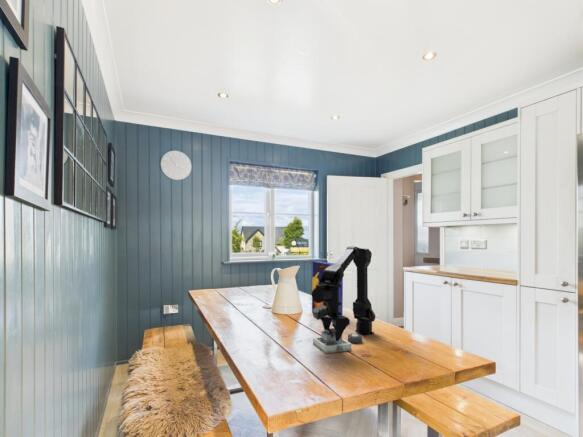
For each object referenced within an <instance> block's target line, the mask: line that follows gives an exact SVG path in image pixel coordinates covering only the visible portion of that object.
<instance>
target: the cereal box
mask: <svg viewBox="0 0 583 437" xmlns="http://www.w3.org/2000/svg"><path fill="white" fill-rule="evenodd" d="M335 263H336V262H328V261H320V260H314V261H312V274H311V275H312V276H311V277H312V278H311V279H312V280H311V282H312V285H311V287H312V288H311V290H312V291H311V293H312V292H313V290H314V289H315V288H316V285H318V283H319V281H320V279H321V277H322V274H323V272H324V270H325V269H326V268H327V267H329V266H331V265H333V264H335ZM343 278H344V277H343ZM343 278H342V280H341V282H340V284H341V285H342V287H341V288H339V302H341V305H339V312H341V315H338V316H343V307H344V306H343V302H344V301H343V300H344V299H343V294H344V292H343V288H344V286H343V285H344V279H343ZM325 282H326V281H325ZM322 305H323V302H321V303H316V302H315V301H314V300H313V299H312V298H311V311H312V310H313V309H315V308H317V307H319V306H322Z"/></svg>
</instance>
